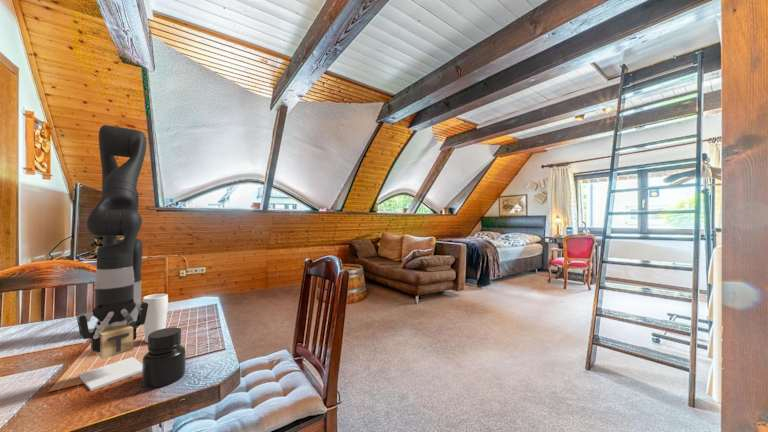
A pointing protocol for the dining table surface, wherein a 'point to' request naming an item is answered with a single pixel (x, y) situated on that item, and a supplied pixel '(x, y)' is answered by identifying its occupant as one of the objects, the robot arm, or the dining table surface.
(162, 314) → the white cup
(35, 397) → the dining table surface
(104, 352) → the lettered block
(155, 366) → the ink bottle
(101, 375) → the white mat
